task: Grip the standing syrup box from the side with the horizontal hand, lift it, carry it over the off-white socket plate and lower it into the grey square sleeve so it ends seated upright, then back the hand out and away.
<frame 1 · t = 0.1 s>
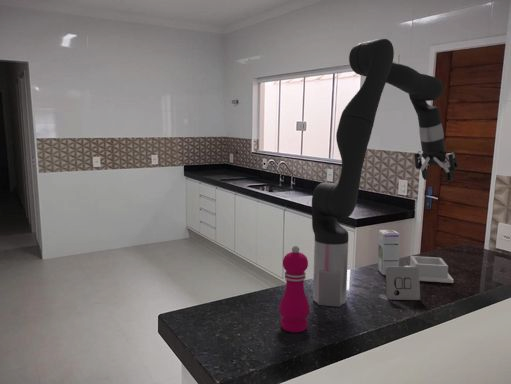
hand: (437, 179, 149), 31 cm above the worktop, tool tilted 20°, fingers open, 8 cm apart
syrup box: (387, 273, 143), on the worktop
socket plate: (427, 275, 141), on the worktop
pepper mill: (294, 327, 101), on the worktop
electrical switch: (400, 297, 121), on the worktop
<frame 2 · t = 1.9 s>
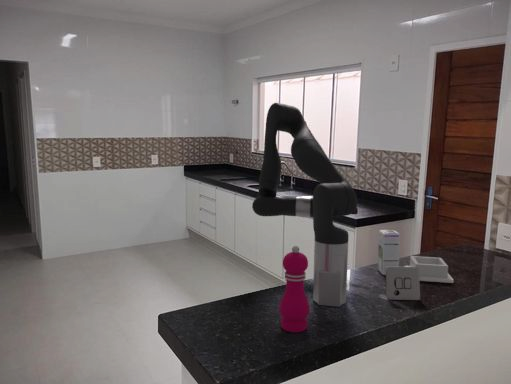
hand: (357, 208, 143), 22 cm above the worktop, tool horizontal, fingers open, 8 cm apart
nothing on the worktop moved.
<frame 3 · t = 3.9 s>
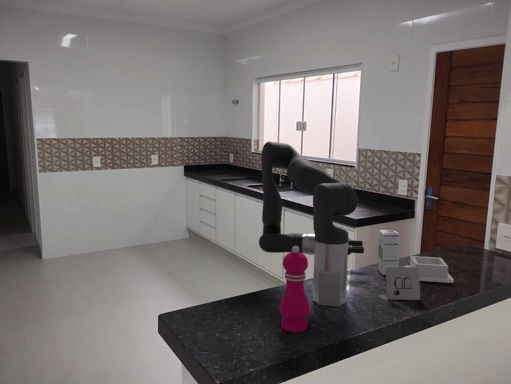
hand: (363, 246, 144), 9 cm above the worktop, tool horizontal, fingers open, 8 cm apart
nothing on the worktop moved.
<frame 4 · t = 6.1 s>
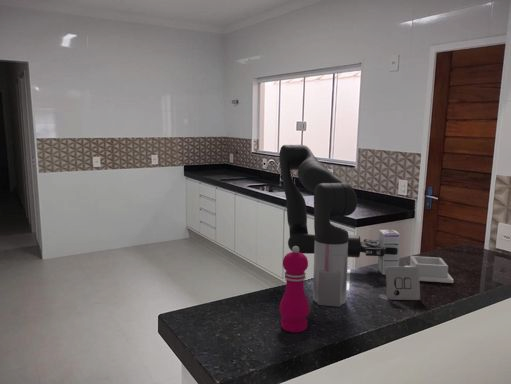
hand: (395, 248, 142), 9 cm above the worktop, tool horizontal, fingers closed on syrup box, 6 cm apart
syrup box: (387, 273, 143), on the worktop, touching gripper
everything else where it was.
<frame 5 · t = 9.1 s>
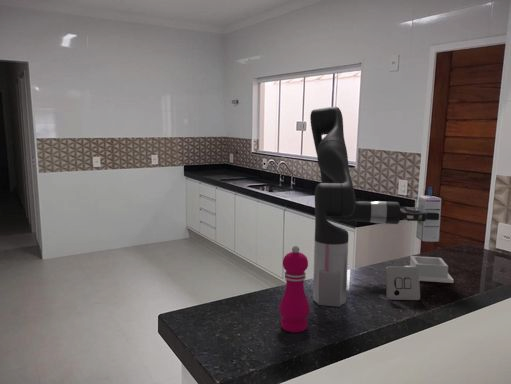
hand: (436, 214, 138), 21 cm above the worktop, tool horizontal, fingers closed on syrup box, 6 cm apart
syrup box: (427, 240, 140), point 12 cm above the worktop, touching gripper
everything else where it was.
when the fingers open (11 cm above the worktop, at t = 12.1 s): syrup box drops 1 cm, resting on socket plate.
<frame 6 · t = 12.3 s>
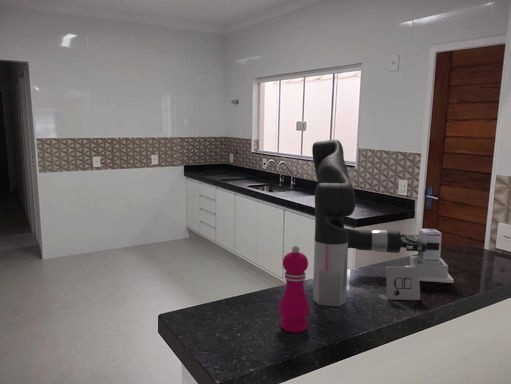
hand: (436, 243, 139), 11 cm above the worktop, tool horizontal, fingers open, 7 cm apart
syrup box: (427, 273, 140), point 1 cm above the worktop, touching socket plate
everything else where it was.
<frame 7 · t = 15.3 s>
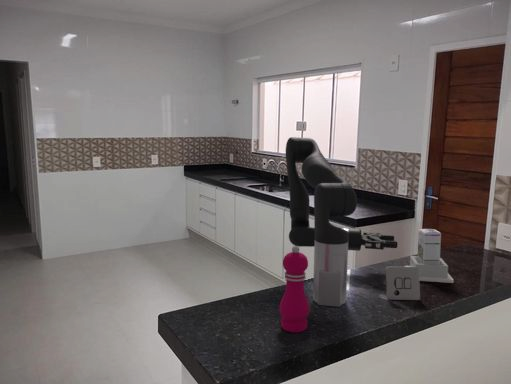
hand: (395, 241, 141), 11 cm above the worktop, tool horizontal, fingers open, 8 cm apart
nothing on the worktop moved.
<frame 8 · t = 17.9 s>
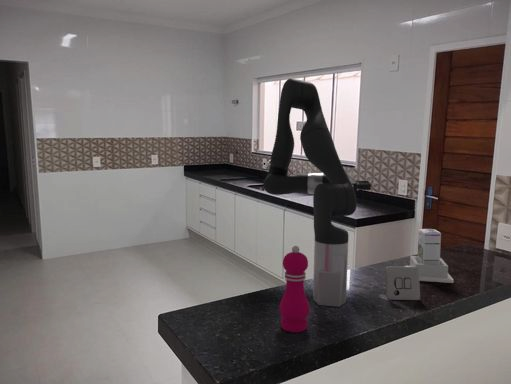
hand: (369, 185, 141), 30 cm above the worktop, tool horizontal, fingers open, 8 cm apart
nothing on the worktop moved.
at the end: syrup box 0.4 cm off-centre on the socket plate, point 0.8 cm above the socket plate's base; syrup box tilted 0°; the gripper is holding nothing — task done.
